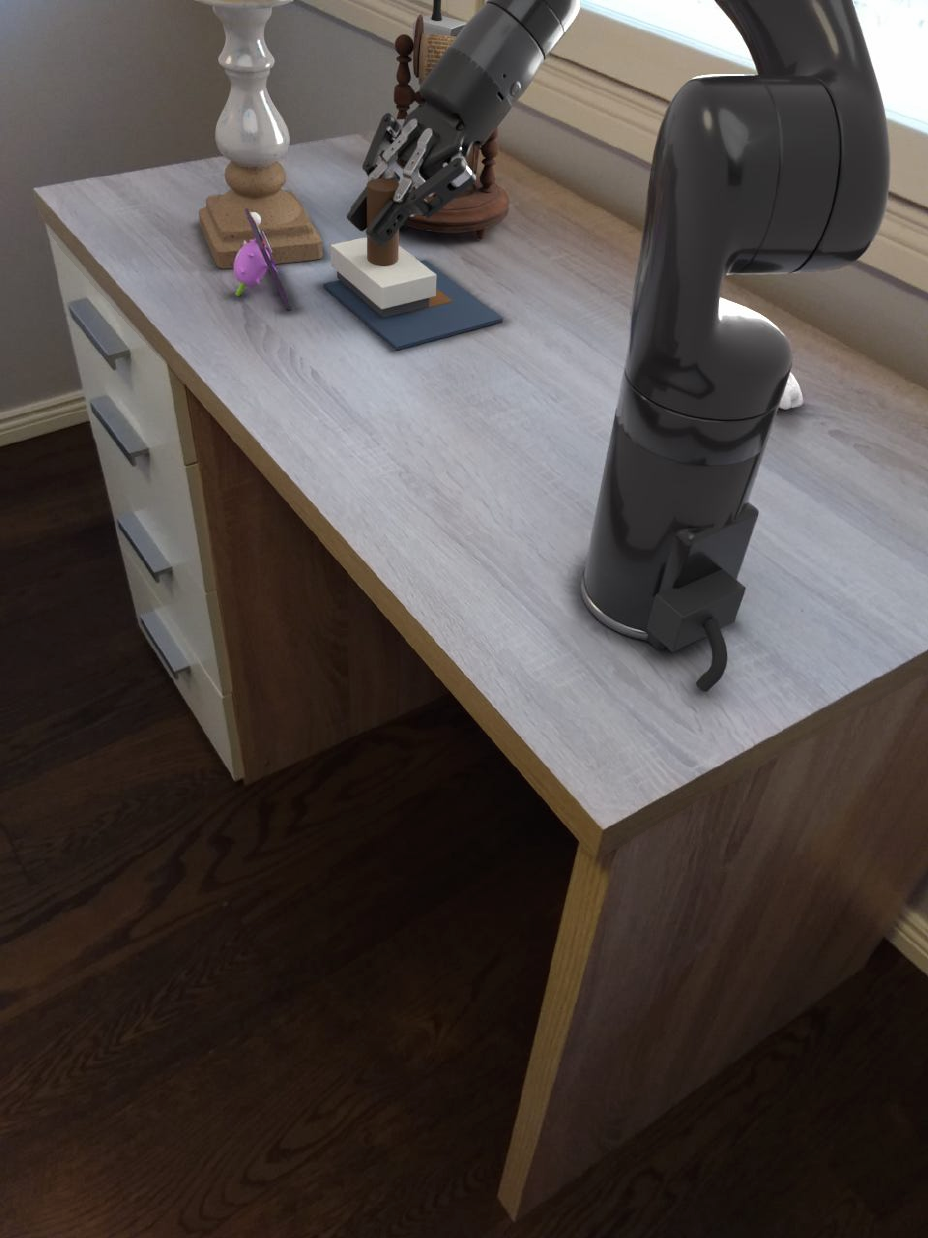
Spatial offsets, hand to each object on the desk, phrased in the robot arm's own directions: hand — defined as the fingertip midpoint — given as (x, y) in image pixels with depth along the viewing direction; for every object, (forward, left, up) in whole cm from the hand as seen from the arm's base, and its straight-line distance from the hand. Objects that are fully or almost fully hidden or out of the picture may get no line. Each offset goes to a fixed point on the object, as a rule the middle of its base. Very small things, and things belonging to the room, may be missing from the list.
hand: (364, 231), depth 95 cm
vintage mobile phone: (+24, -24, -7) cm, 35 cm away
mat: (-3, -4, -7) cm, 8 cm away
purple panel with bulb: (+6, +8, -7) cm, 13 cm away
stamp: (0, -2, -6) cm, 7 cm away
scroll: (+13, -18, -7) cm, 23 cm away
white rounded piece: (-32, -24, -7) cm, 40 cm away
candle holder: (+16, +3, -7) cm, 18 cm away
